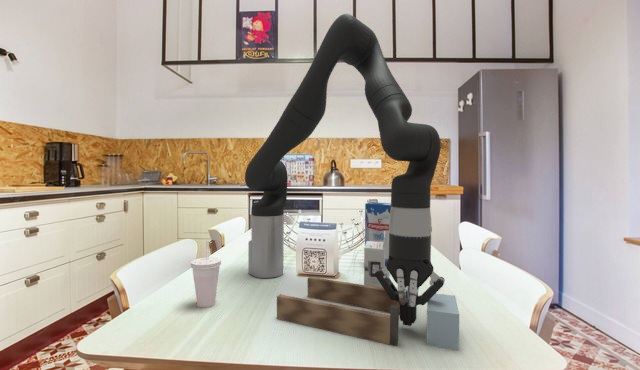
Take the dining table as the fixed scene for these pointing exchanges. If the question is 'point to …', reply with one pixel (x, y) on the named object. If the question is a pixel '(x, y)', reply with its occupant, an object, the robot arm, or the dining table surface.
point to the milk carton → (377, 224)
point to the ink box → (373, 262)
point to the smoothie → (206, 278)
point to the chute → (344, 310)
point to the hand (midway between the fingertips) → (408, 323)
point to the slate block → (443, 322)
